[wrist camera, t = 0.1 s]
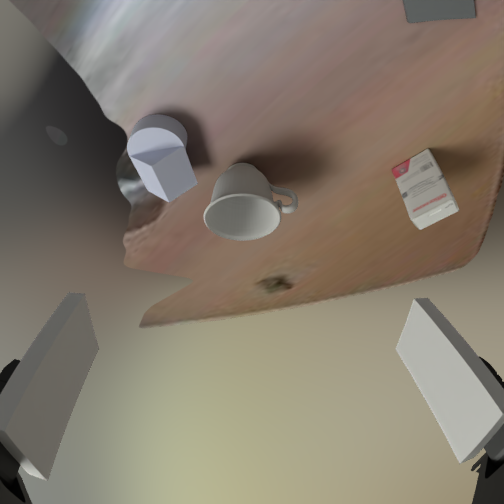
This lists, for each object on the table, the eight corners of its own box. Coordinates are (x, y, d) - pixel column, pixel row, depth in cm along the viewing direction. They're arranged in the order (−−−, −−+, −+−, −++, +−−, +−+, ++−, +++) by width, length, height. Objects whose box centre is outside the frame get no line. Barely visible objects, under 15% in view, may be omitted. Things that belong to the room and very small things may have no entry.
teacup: (297, 187, 57) (304, 232, 52) (220, 201, 60) (218, 245, 55) (286, 138, 47) (293, 184, 42) (197, 157, 50) (191, 204, 45)
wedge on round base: (199, 169, 53) (178, 109, 42) (196, 199, 49) (171, 137, 38) (151, 176, 54) (124, 121, 42) (144, 205, 50) (112, 149, 39)
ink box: (400, 181, 55) (419, 232, 49) (389, 168, 52) (409, 220, 46) (436, 161, 50) (460, 212, 44) (428, 146, 47) (454, 198, 41)
